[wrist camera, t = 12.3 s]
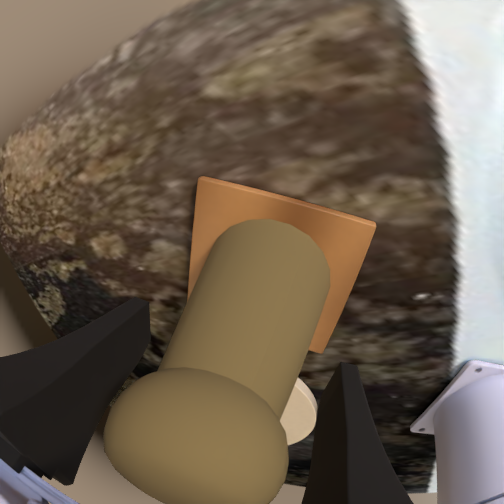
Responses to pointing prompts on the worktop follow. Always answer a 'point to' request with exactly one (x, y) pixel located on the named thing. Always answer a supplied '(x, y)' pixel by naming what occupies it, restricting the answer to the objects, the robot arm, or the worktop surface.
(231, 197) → the cork trivet
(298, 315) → the pepper shaker
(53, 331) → the worktop surface
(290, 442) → the plate
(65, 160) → the worktop surface
